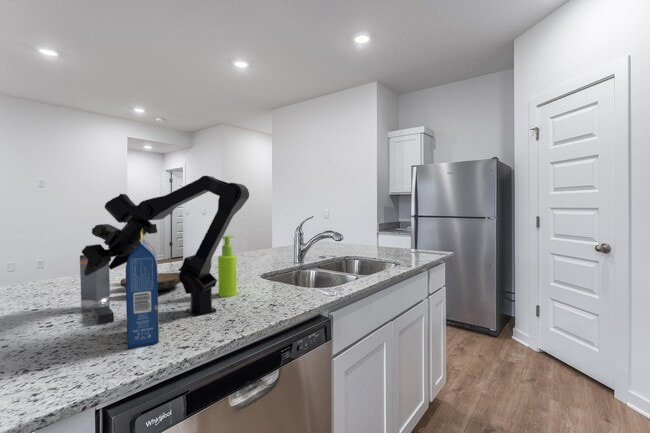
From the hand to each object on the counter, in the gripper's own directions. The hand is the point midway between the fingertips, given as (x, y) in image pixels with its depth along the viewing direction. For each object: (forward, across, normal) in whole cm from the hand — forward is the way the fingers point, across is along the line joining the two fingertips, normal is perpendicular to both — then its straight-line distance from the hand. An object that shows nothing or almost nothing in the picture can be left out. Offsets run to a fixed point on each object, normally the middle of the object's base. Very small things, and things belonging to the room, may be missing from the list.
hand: (98, 271), depth 98 cm
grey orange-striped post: (+6, 0, +5) cm, 8 cm away
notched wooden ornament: (+6, -24, +10) cm, 27 cm away
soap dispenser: (-14, -18, +31) cm, 39 cm away
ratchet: (+5, +5, +11) cm, 13 cm away
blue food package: (-11, +19, +27) cm, 35 cm away
